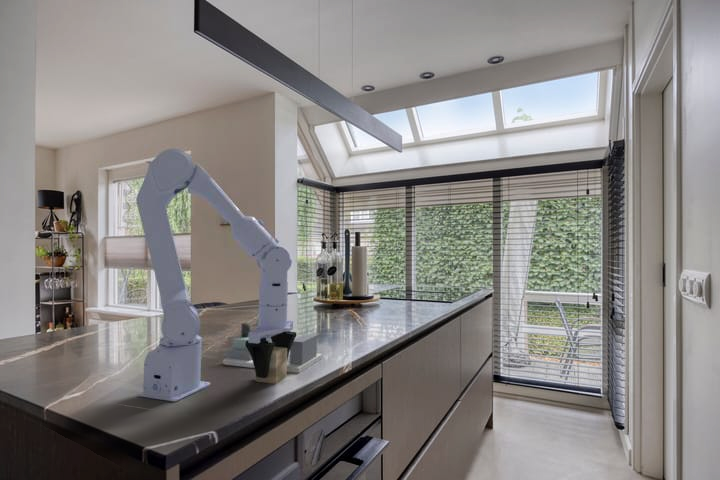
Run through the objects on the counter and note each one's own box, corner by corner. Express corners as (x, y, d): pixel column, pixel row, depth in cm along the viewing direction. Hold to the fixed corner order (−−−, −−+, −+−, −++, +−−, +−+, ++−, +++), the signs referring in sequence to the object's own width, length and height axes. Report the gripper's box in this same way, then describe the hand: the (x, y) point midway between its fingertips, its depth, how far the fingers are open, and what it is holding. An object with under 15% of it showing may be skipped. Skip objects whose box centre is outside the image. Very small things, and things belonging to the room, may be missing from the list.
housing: (275, 383, 78) (276, 353, 78) (250, 380, 80) (251, 350, 80) (286, 377, 82) (287, 348, 83) (262, 374, 84) (262, 345, 84)
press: (299, 373, 85) (299, 344, 85) (223, 364, 91) (223, 337, 91) (322, 358, 98) (322, 333, 98) (254, 351, 103) (254, 327, 103)
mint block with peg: (251, 358, 92) (252, 327, 92) (232, 356, 94) (233, 326, 94) (267, 351, 99) (267, 322, 99) (249, 349, 100) (250, 321, 100)
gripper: (272, 310, 73) (271, 385, 73) (306, 301, 87) (304, 364, 87) (239, 308, 75) (237, 380, 75) (277, 300, 89) (275, 361, 89)
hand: (271, 371), depth 81 cm, fingers open, 7 cm apart
